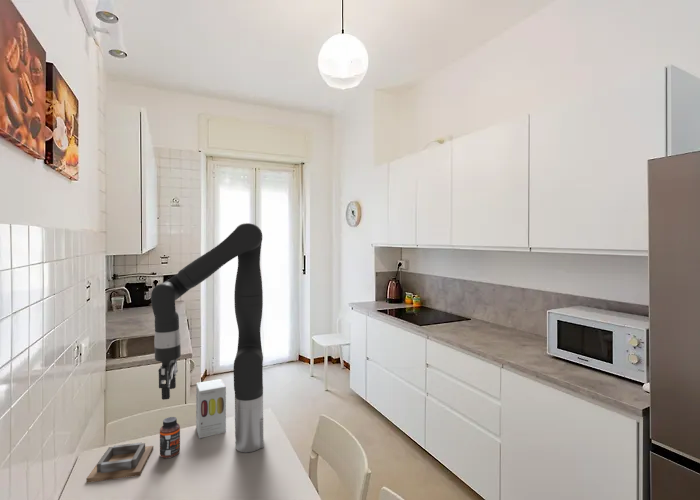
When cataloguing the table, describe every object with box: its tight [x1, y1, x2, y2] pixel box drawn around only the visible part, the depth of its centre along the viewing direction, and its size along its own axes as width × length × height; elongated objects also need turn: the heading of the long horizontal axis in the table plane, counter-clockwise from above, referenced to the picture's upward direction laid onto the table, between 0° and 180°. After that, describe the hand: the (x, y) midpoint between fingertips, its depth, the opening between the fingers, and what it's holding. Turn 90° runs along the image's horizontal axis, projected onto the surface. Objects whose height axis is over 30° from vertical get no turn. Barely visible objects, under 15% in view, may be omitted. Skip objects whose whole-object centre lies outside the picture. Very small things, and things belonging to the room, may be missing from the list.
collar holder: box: [86, 442, 154, 484], centre depth 115 cm, size 14×14×4 cm
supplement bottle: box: [159, 416, 181, 459], centre depth 121 cm, size 6×6×11 cm
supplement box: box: [195, 378, 227, 439], centre depth 136 cm, size 10×9×17 cm
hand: (169, 393), depth 120 cm, fingers open, 8 cm apart
